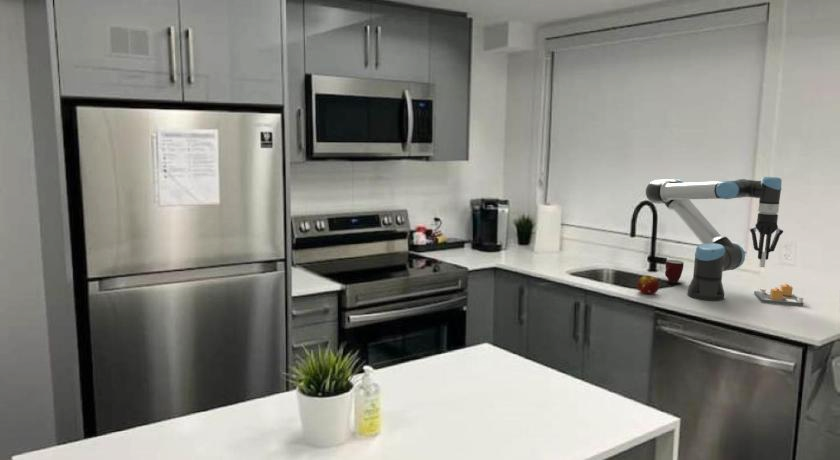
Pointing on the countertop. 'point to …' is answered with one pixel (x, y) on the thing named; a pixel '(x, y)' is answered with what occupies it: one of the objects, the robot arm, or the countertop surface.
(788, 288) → the tab back
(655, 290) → the fruit
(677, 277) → the mug
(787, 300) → the switch board
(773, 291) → the tab front
